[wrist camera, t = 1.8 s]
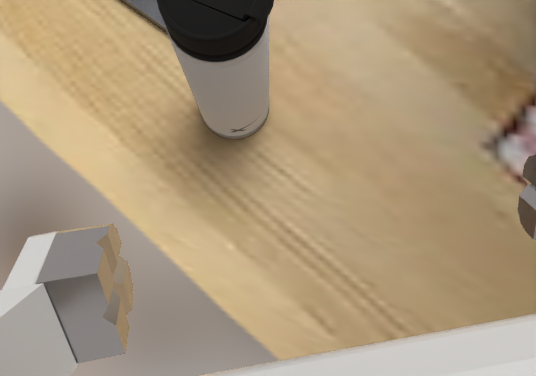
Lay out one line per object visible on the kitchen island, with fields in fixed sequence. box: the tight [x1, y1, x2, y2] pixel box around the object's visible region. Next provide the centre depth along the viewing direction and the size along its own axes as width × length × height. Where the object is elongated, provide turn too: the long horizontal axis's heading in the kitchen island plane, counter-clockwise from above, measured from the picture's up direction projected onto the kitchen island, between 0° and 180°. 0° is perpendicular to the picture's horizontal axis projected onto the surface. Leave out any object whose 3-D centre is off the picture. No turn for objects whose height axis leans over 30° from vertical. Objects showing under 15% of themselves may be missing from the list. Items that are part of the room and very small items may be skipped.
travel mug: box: [157, 0, 274, 139], centre depth 37 cm, size 6×7×20 cm
